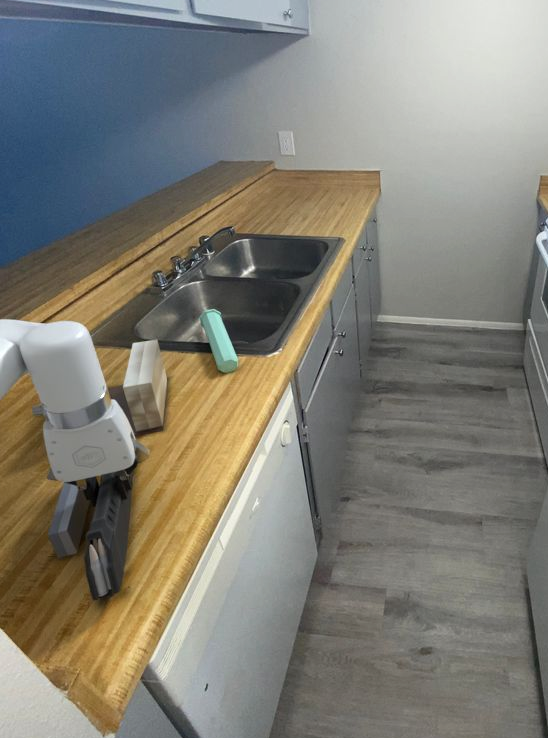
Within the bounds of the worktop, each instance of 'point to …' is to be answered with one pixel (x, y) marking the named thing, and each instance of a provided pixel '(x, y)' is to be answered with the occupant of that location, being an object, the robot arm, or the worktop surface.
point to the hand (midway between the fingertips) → (111, 495)
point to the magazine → (107, 539)
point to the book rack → (143, 389)
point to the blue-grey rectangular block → (68, 520)
